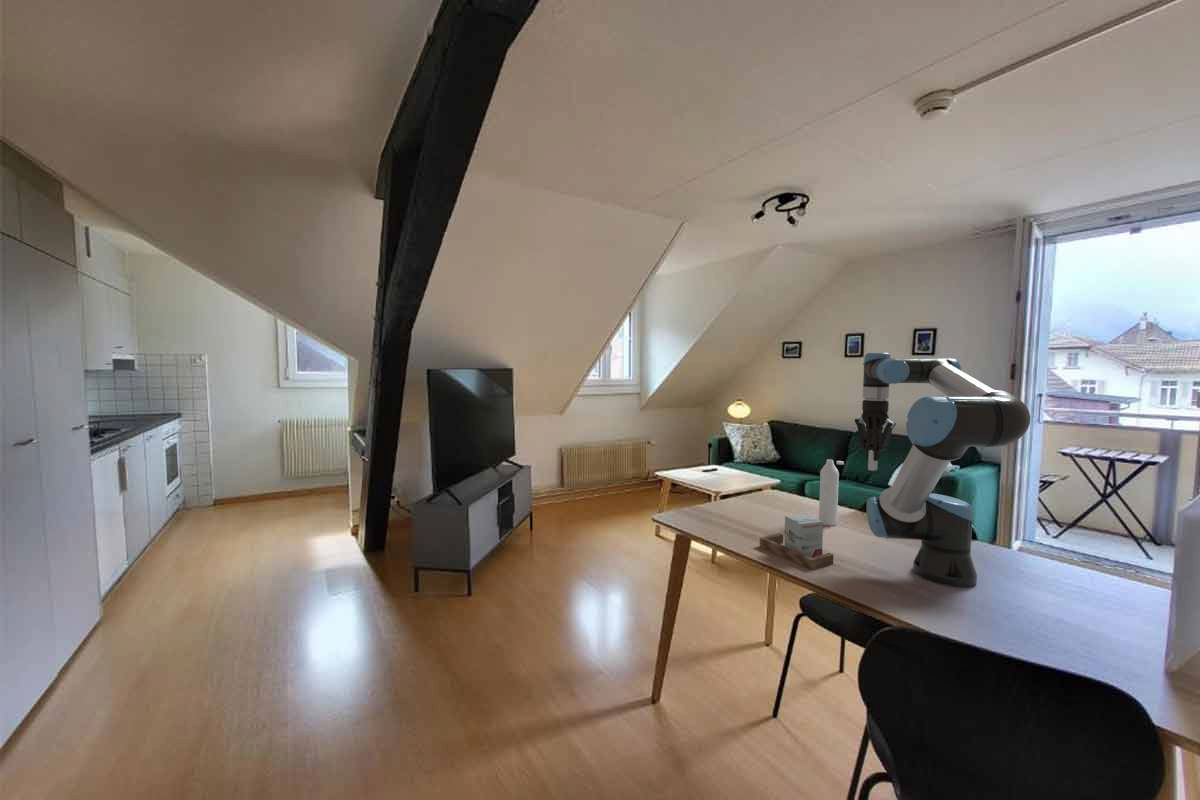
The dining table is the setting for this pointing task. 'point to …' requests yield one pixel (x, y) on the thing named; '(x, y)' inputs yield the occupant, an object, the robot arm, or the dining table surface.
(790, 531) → the ink box
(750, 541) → the dining table surface
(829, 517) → the water bottle
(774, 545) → the fence
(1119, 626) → the dining table surface
